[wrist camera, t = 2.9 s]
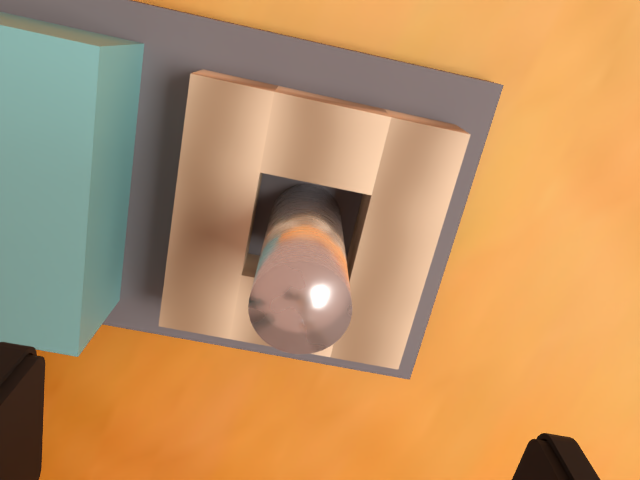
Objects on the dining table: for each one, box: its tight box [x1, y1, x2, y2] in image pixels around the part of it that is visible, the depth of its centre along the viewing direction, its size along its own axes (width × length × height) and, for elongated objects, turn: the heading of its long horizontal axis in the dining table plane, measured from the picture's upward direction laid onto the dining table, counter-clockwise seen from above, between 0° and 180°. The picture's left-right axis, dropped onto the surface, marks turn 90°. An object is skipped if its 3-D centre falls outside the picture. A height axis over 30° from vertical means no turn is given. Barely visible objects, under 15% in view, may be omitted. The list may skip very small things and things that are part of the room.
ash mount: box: [159, 69, 471, 369], centre depth 24 cm, size 11×11×2 cm
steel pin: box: [248, 184, 352, 354], centre depth 21 cm, size 3×3×9 cm
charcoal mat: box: [0, 0, 503, 379], centre depth 26 cm, size 28×15×2 cm, turn 78°
